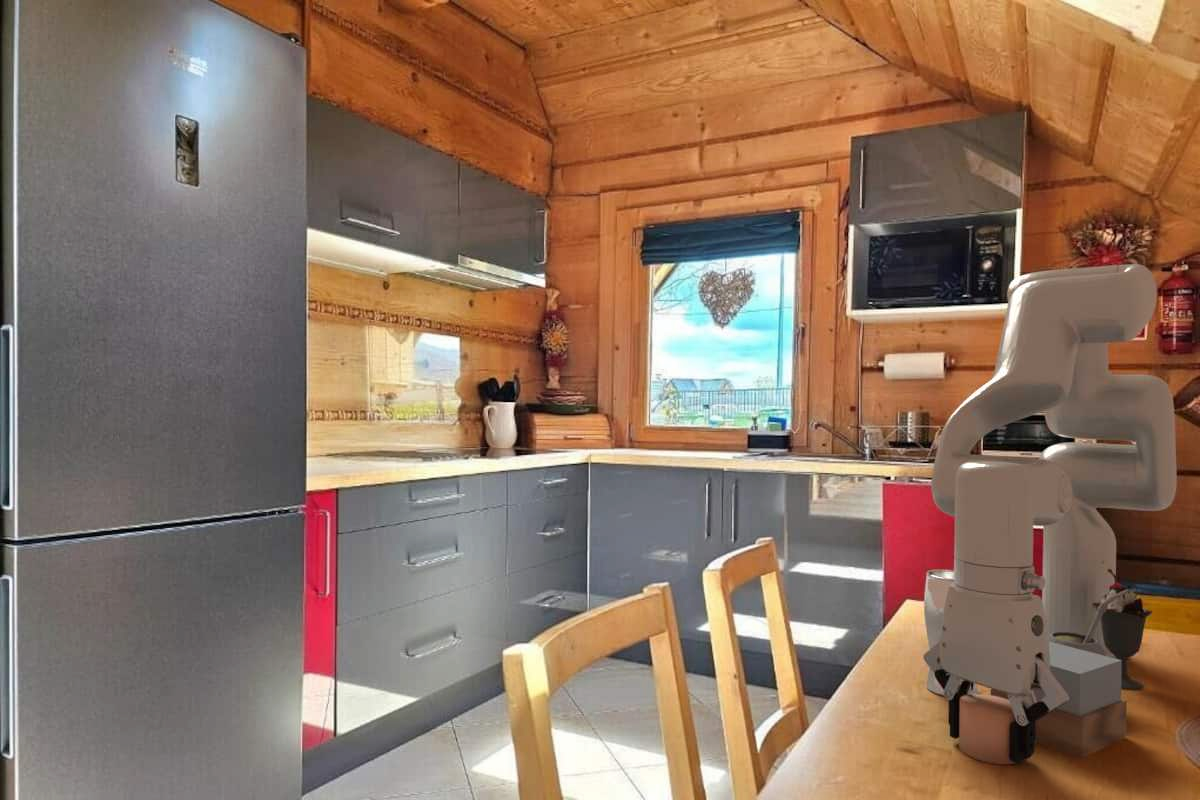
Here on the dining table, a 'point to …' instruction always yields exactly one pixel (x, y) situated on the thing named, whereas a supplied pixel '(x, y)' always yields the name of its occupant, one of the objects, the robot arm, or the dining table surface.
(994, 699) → the peach rounded cylinder
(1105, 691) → the slate top block
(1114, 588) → the sundae
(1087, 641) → the mate gourd
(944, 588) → the beer glass
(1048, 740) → the walnut base block
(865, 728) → the dining table surface
